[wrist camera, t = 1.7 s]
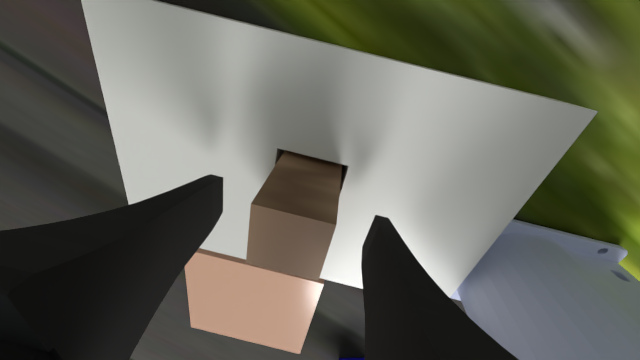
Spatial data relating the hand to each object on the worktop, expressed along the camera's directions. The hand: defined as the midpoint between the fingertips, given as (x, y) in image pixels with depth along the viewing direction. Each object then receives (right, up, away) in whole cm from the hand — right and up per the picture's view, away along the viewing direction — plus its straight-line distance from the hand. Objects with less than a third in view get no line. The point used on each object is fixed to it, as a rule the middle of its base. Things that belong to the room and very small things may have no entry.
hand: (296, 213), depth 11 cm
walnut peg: (+1, +2, +4) cm, 5 cm away
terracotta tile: (-6, -10, +12) cm, 17 cm away
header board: (+1, +2, +4) cm, 5 cm away
